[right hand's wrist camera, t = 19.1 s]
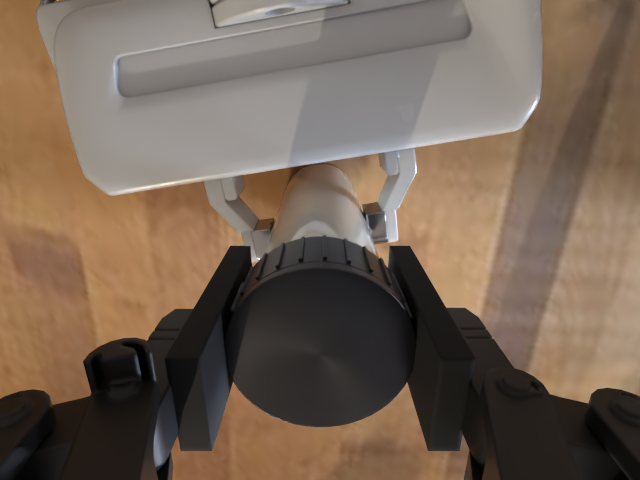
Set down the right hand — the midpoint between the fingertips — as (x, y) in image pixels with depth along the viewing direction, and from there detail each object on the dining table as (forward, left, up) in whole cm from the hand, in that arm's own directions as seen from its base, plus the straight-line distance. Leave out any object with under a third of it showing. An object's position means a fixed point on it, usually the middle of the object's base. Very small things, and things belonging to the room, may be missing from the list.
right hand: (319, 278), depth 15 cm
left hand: (-1, +1, -5) cm, 5 cm away
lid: (0, 0, +4) cm, 4 cm away
